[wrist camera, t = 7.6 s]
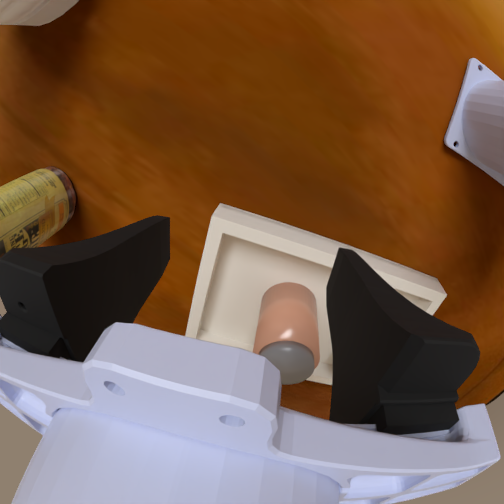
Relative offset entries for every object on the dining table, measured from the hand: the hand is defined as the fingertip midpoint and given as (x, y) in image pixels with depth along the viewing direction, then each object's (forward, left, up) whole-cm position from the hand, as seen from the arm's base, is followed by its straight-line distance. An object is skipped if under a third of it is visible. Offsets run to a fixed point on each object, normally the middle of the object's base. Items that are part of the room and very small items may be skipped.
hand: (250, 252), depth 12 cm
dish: (-7, +10, -10) cm, 15 cm away
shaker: (-5, +9, -9) cm, 14 cm away
